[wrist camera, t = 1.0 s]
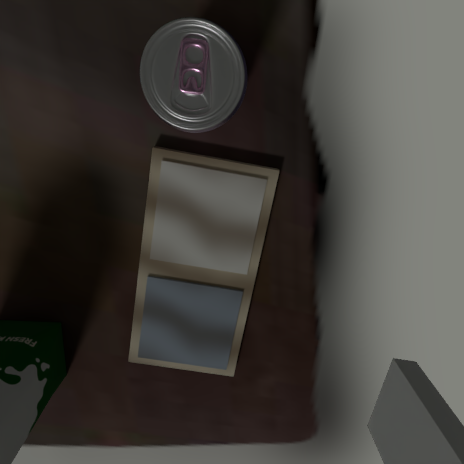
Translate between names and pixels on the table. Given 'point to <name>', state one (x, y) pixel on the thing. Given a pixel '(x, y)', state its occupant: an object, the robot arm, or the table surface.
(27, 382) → the milk carton
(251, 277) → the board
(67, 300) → the table surface
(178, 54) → the beverage can
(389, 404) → the robot arm
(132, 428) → the table surface
